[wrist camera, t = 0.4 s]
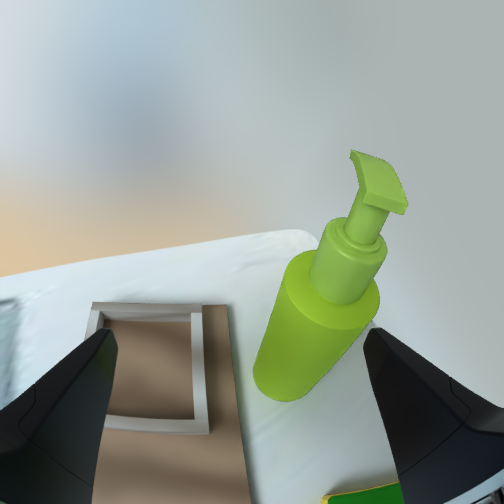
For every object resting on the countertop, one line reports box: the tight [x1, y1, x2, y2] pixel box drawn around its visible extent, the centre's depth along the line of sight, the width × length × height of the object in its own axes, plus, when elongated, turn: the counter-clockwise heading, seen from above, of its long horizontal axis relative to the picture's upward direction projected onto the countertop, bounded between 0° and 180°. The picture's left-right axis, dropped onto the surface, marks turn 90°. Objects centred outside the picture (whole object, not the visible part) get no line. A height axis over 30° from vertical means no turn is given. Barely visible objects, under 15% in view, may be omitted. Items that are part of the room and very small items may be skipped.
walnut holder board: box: [84, 302, 251, 504], centre depth 19 cm, size 22×14×3 cm, turn 8°
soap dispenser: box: [253, 150, 408, 401], centre depth 18 cm, size 6×7×20 cm
